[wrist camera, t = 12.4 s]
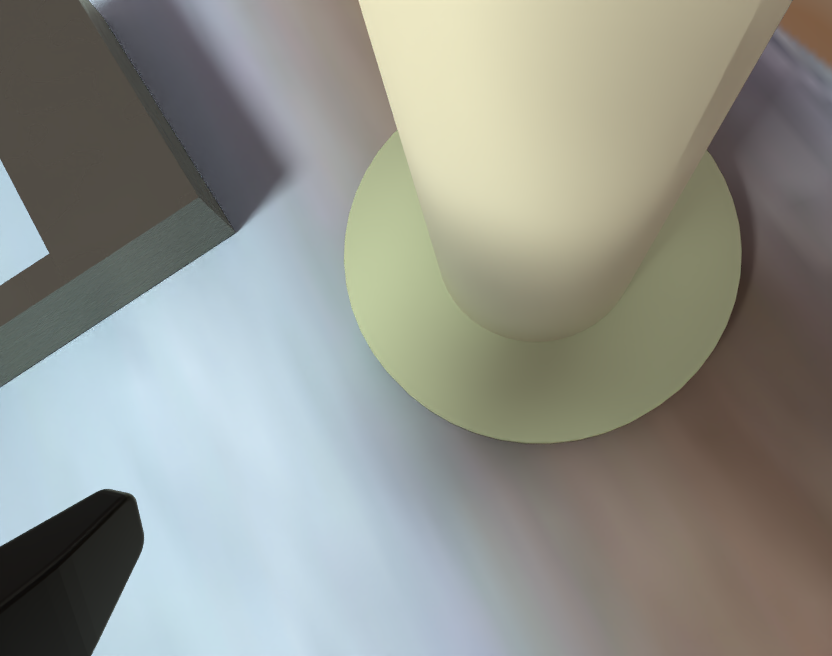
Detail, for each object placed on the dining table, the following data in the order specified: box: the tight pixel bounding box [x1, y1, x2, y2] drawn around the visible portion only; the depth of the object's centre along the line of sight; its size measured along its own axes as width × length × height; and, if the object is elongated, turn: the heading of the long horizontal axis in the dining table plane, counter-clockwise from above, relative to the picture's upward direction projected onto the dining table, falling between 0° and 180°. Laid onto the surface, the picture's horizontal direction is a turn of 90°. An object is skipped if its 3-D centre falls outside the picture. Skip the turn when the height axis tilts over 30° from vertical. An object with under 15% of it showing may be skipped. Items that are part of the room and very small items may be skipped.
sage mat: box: [344, 130, 742, 444], centre depth 18 cm, size 10×10×1 cm
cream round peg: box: [359, 0, 793, 342], centre depth 11 cm, size 5×5×14 cm
